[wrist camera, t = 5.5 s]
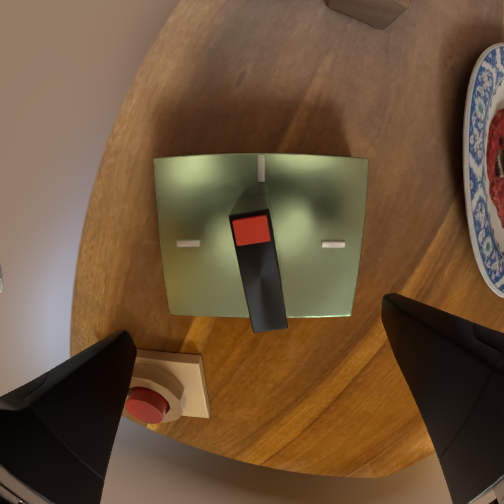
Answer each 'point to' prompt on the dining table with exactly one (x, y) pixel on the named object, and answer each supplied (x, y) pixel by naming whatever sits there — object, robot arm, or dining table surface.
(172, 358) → the button block
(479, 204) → the ceramic plate
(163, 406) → the red button
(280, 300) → the red-capped black block
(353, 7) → the wooden block
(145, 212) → the dining table surface
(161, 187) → the panel
